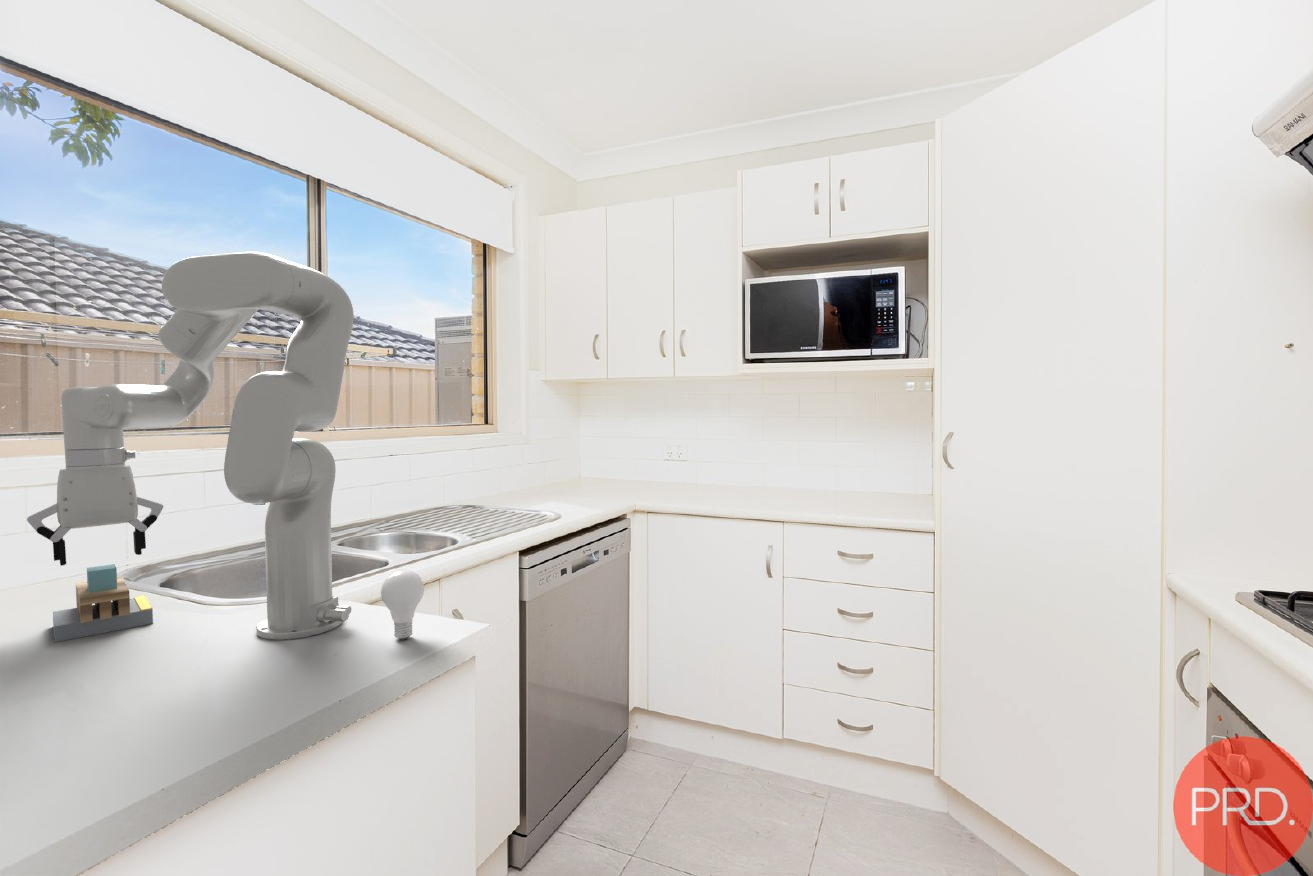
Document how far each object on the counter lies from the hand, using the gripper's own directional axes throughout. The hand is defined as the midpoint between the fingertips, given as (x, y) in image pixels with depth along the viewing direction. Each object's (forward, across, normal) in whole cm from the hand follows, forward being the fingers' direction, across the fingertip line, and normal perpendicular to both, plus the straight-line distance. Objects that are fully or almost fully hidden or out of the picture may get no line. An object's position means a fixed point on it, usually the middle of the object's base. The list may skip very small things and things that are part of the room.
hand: (101, 558), depth 106 cm
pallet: (+8, 0, +2) cm, 9 cm away
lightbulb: (+12, -33, +45) cm, 57 cm away
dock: (+11, 0, +2) cm, 11 cm away
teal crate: (+4, 0, +4) cm, 6 cm away
